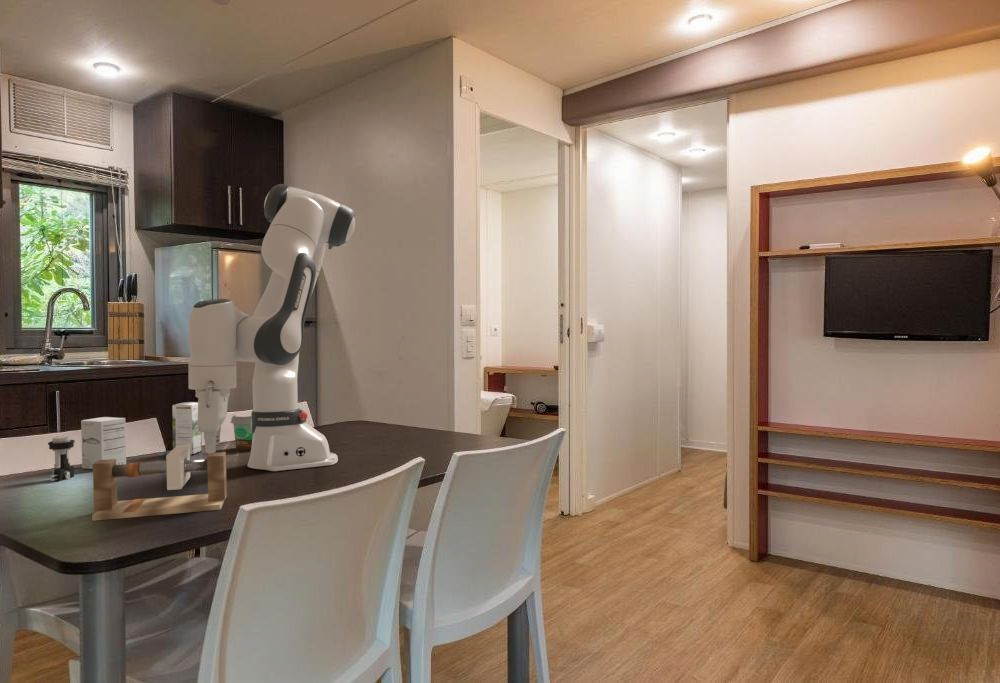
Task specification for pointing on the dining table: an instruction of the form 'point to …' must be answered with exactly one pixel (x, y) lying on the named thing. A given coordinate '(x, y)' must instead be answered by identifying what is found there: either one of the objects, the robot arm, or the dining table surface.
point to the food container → (242, 432)
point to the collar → (177, 467)
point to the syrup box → (186, 426)
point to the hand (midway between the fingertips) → (212, 448)
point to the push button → (61, 458)
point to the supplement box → (103, 440)
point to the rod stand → (113, 509)
